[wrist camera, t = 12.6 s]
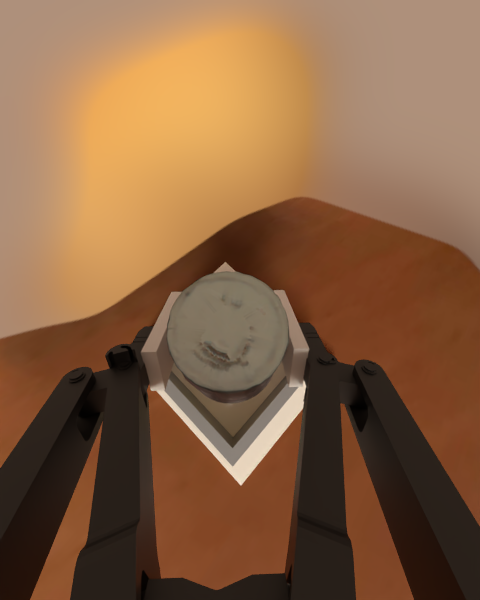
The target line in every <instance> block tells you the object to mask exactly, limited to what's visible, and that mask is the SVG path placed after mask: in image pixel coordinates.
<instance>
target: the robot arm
mask: <svg viewBox="0 0 480 600" xmlns="http://www.w3.org/2000/svg"><path fill="white" fill-rule="evenodd" d="M274 293H275V294H276V295H278V297H279V298H280V300H281V303H282V305H283V307H284V309H285V311H286V314H287V318H288V324H289V345H288V347H287V350H286V353H285V356H284V358H283V360H282V362H283V366H284V370H285V374H286V378H287V382H288V386H289V387H303V381H304V382H305V385H306V389H305V395H304V400H303V401H304V406H303V415H302V425H301V434H300V443H299V453H298V462H297V471H296V481H295V490H294V500H293V509H292V518H291V528H290V537H289V546H288V553H287V560H286V567H285V573H282V574H259V575H251V576H248V577H246V578H244V579H242V580H240V581H237V582H235V583H233V584H231V585H229V586H227V587H224V588H222V589H220V590H213V589H210V588H208V587H205V586H202V585H200V584H197V583H195V582H192V581H189V580H187V579H184V578H164V579H161V576H160V568H159V562H158V556H157V546H156V529H155V511H154V493H153V475H152V457H151V440H150V422H149V404H148V394H147V388H148V386H149V384H150V388H151V391H155V390H165V389H166V386H167V383H168V379H169V376H170V373H171V370H172V367H173V363H174V361H173V359H172V356H171V355H170V353H169V349H168V344H167V339H166V338H167V323H168V320H169V315H170V311H171V308H172V306H173V304H174V302H175V301H176V299H177V298H178V296H179V295H180V294H181V292H171V294H170V296H169V298H168V300H167V302H166V304H165V306H164V308H163V310H162V312H161V313H160V315H159V317H158V319H157V321H156V323H155V325H154V326H151V327H144V328H143V329H141V330H140V331H139V332H138V334H137V335H136V338H135V339H134V340H133V343H132V344H121V345H118V346H115V347H113V348H111V349H110V350H109V351H108V352H107V353H106V355H105V357H106V359H107V362H108V365H109V367H110V369H107V370H103V371H99V372H95V373H93V372H92V369H91V368H89V367H81V368H77V369H74V370H72V371H70V372H69V373H67V374H66V375H65V376H64V377H63V378H62V379H61V381H60V382H59V384H58V385H57V387H56V388H55V390H54V391H53V392H52V394H51V395H50V397H49V398H48V400H47V401H46V403H45V404H44V406H43V407H42V408H41V410H40V411H39V413H38V414H37V416H36V417H35V419H34V420H33V422H32V423H31V424H30V426H29V427H28V429H27V430H26V432H25V433H24V435H23V436H22V438H21V439H20V440H19V442H18V443H17V445H16V446H15V448H14V449H13V451H12V452H11V454H10V455H9V456H8V458H7V459H6V461H5V462H4V464H3V465H2V467H1V468H0V600H30V598H31V596H32V593H33V591H34V588H35V586H36V583H37V581H38V579H39V576H40V574H41V571H42V569H43V566H44V564H45V561H46V559H47V556H48V554H49V552H50V549H51V547H52V544H53V542H54V539H55V537H56V534H57V532H58V529H59V527H60V525H61V522H62V520H63V517H64V515H65V512H66V510H67V507H68V505H69V502H70V500H71V498H72V495H73V493H74V490H75V488H76V485H77V483H78V480H79V478H80V475H81V473H82V471H83V468H84V466H85V463H86V461H87V458H88V456H89V453H90V451H91V448H92V446H93V444H94V441H95V439H96V436H97V434H98V431H99V429H100V426H101V424H102V421H103V425H102V433H101V440H100V448H99V456H98V463H97V471H96V479H95V486H94V494H93V501H92V509H91V517H90V524H89V532H88V538H87V542H86V545H85V547H84V548H83V549H82V550H81V551H80V553H79V556H78V558H77V562H76V567H75V571H74V578H73V584H72V591H71V597H70V600H356V592H355V577H354V561H353V551H352V545H351V540H350V539H349V537H348V534H347V528H346V510H345V490H344V470H343V449H342V429H341V409H340V403H342V404H345V407H346V410H347V412H348V415H349V418H350V421H351V424H352V427H353V429H354V432H355V435H356V438H357V441H358V443H359V446H360V449H361V452H362V455H363V457H364V460H365V463H366V466H367V469H368V471H369V474H370V477H371V480H372V483H373V485H374V488H375V491H376V494H377V497H378V499H379V502H380V505H381V508H382V511H383V513H384V516H385V519H386V522H387V525H388V527H389V530H390V533H391V536H392V539H393V541H394V544H395V547H396V550H397V553H398V555H399V558H400V561H401V564H402V567H403V569H404V572H405V575H406V578H407V581H408V583H409V586H410V589H411V592H412V595H413V597H414V600H480V526H479V525H478V523H477V522H476V520H475V518H474V517H473V515H472V513H471V512H470V510H469V509H468V507H467V505H466V504H465V502H464V500H463V499H462V497H461V495H460V494H459V492H458V491H457V489H456V487H455V486H454V484H453V482H452V481H451V479H450V478H449V476H448V474H447V473H446V471H445V469H444V468H443V466H442V465H441V463H440V461H439V460H438V458H437V456H436V455H435V453H434V452H433V450H432V448H431V447H430V445H429V443H428V442H427V440H426V439H425V437H424V435H423V434H422V432H421V430H420V429H419V427H418V425H417V424H416V422H415V421H414V419H413V417H412V416H411V414H410V412H409V411H408V409H407V408H406V406H405V404H404V403H403V401H402V399H401V398H400V396H399V395H398V393H397V391H396V390H395V388H394V386H393V385H392V383H391V382H390V380H389V378H388V377H387V375H386V373H385V372H384V370H383V369H382V368H381V367H380V366H379V365H378V364H376V363H374V362H372V361H369V360H359V361H357V362H356V363H355V365H354V366H353V365H348V364H344V363H340V362H338V361H337V359H336V358H335V357H334V356H333V355H332V354H330V353H328V352H327V351H326V349H325V347H324V345H323V343H322V341H321V339H320V338H319V335H318V334H317V331H316V330H315V328H314V327H313V326H312V325H311V324H310V323H298V321H297V319H296V317H295V314H294V312H293V310H292V307H291V305H290V303H289V301H288V298H287V296H286V294H285V291H284V290H274Z"/></svg>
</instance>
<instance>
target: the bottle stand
mask: <svg viewBox="0 0 480 600" xmlns="http://www.w3.org/2000/svg"><path fill="white" fill-rule="evenodd" d="M225 271H228V272H236V271H235V270H234V269H232V268H231V267H230V266H229V265H228V264H227V263H226V262H225V263H224V264H223V265H221V266H220V267H219V268H218V269H217V270H216V271H215V272H214V273H217V272H225ZM305 389H306V385H305V382H304V381H303V387H289V386H288V382H287V378H286V374H285V370H284V366H283V362H281V363H280V365H279V366H278V368H277V369H276V371H275V372H274V373H273V376H272V378H271V380H270V382H269V383H268V385H267V386H266V387H265V388H264V389H263V390H262V391H261V392H260V393H259V394H258V395H256V396H255V397H253V398H251V399H249V400H247V401H243V402H240V403H233V404H227V403H220V402H216V401H214V400H211V399H210V398H208V397H206V396H205V395H204V394H202V393H201V392H200V391H199V390H198V389H196V388H195V387H194V386H193V385H191V384H190V383H189V382H188V381H186V379H185V378H184V376H183V374H182V372H181V371H180V370H179V369H178V368H177V367H176V365H175V363H173V367H172V370H171V373H170V376H169V379H168V383H167V386H166V389H165V390H156V391H157V392H158V393H159V394H160V395H161V396H162V398H163V399H164V400H165V401H166V402H167V403H168V404H169V405H170V407H171V408H172V409H173V410H174V411H175V412H176V413H177V414H178V415H179V417H180V418H181V419H182V420H183V421H184V422H185V423H186V424H187V426H188V427H189V428H190V429H191V430H192V431H193V432H194V433H195V435H196V436H197V437H198V438H199V439H200V440H201V441H202V442H203V444H204V445H205V446H206V447H207V448H208V449H209V450H210V451H211V452H212V454H213V455H214V456H215V457H216V458H217V459H218V460H219V461H220V463H221V464H222V465H223V466H224V467H225V468H226V469H227V470H228V472H229V473H230V474H231V475H232V476H233V477H234V478H235V479H236V481H237V482H238V483H239V484H240V485H242V484H243V482H244V481H245V480H246V479H247V477H248V476H249V475H250V474H251V472H252V471H253V470H254V469H255V467H256V466H257V465H258V464H259V462H260V461H261V460H262V459H263V457H264V456H265V455H266V454H267V452H268V451H269V450H270V449H271V447H272V446H273V445H274V444H275V442H276V441H277V440H278V439H279V437H280V436H281V435H282V434H283V432H284V431H285V430H286V429H287V427H288V426H289V425H290V424H291V422H292V421H293V420H294V419H295V417H296V416H297V415H298V414H299V412H300V411H301V410H302V409H303V406H304V401H303V400H304V395H305Z"/></svg>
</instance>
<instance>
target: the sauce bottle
mask: <svg viewBox="0 0 480 600" xmlns="http://www.w3.org/2000/svg"><path fill="white" fill-rule="evenodd" d="M166 339H167V344H168V349H169V353H170V355H171V356H172V359H173V361H174V363H175V365H176V367H177V368H178V369H179V370H180V371H181V372H182V374H183V376H184V378H185V379H186V381H188V382H189V383H190V384H191V385H193V386H194V387H195V388H196V389H198V390H199V391H200V392H201V393H202V394H204V395H205V396H206V397H208V398H210V399H211V400H214V401H216V402H220V403H227V404H233V403H240V402H243V401H247V400H249V399H251V398H253V397H255V396H256V395H258V394H259V393H260V392H261V391H262V390H263V389H264V388H265V387H266V386H267V385H268V383H269V382H270V380H271V378H272V376H273V373H274V372H275V371H276V369H277V368H278V366H279V365H280V363H281V362H282V360H283V358H284V356H285V353H286V350H287V347H288V345H289V324H288V318H287V314H286V311H285V309H284V307H283V305H282V303H281V300H280V298H279V297H278V295H276V294H275V293H274V291H273V290H272V289H271V288H270V287H269V286H268V285H267V284H265V283H264V282H262V281H260V280H259V279H257V278H255V277H253V276H250V275H246V274H243V273H240V272H228V271H225V272H217V273H213V274H209V275H206V276H204V277H202V278H200V279H198V280H197V281H195V282H194V283H193V284H191V285H190V286H189V287H187V288H186V289H185V290H183V291H182V292H181V294H180V295H179V296H178V298H177V299H176V301H175V302H174V304H173V306H172V308H171V311H170V315H169V320H168V323H167V338H166Z"/></svg>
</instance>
